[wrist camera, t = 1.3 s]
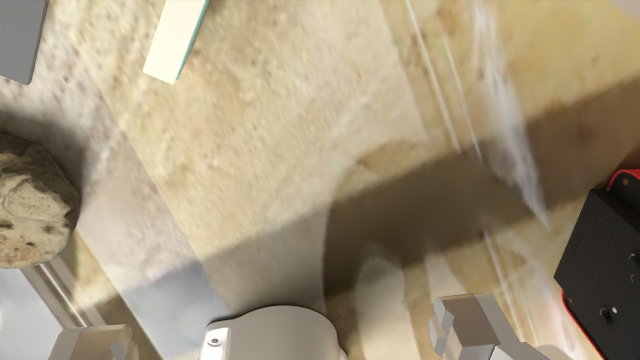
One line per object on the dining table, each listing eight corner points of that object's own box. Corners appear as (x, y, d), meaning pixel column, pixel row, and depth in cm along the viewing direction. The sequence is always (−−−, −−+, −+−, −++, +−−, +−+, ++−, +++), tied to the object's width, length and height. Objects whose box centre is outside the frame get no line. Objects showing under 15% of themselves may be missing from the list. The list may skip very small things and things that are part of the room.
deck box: (189, 53, 34) (174, 85, 29) (163, 41, 34) (142, 71, 28) (223, -34, 31) (214, -18, 26) (194, -49, 31) (178, -37, 25)
